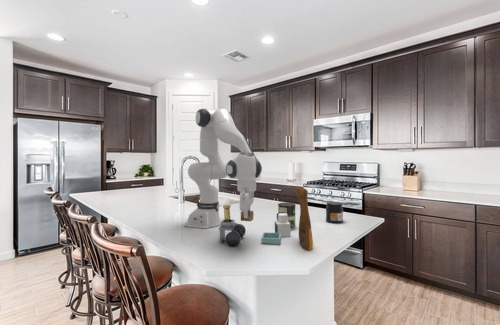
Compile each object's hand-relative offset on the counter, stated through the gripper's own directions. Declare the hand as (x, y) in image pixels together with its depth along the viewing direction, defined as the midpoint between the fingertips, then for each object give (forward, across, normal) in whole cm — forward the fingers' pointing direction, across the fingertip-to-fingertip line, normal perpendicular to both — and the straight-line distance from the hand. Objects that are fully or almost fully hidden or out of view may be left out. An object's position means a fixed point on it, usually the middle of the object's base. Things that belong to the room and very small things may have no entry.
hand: (247, 216), depth 118 cm
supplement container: (+15, +51, -49) cm, 72 cm away
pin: (+6, +8, +11) cm, 15 cm away
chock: (+2, 0, 0) cm, 2 cm away
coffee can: (+15, +34, -19) cm, 41 cm away
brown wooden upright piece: (+15, +6, -27) cm, 31 cm away
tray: (+15, +9, -11) cm, 20 cm away
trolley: (+15, +7, +9) cm, 18 cm away
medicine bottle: (+15, +20, -16) cm, 30 cm away
